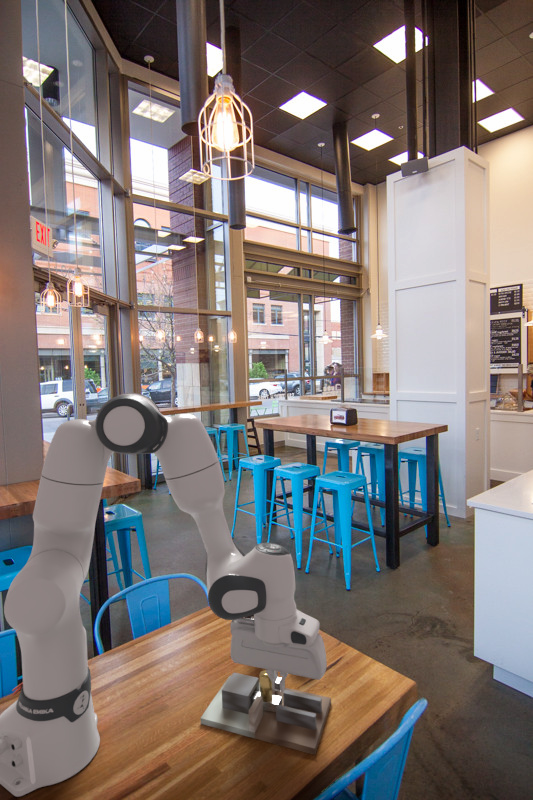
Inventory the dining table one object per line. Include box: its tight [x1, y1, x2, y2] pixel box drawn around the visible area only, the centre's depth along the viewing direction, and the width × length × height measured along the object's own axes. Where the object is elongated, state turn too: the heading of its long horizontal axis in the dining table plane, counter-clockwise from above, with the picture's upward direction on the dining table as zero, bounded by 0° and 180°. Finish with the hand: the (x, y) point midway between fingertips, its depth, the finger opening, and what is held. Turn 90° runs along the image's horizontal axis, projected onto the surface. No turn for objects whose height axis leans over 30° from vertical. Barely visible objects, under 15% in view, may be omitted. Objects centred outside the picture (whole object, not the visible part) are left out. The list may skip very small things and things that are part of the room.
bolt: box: [250, 669, 282, 713], centre depth 93 cm, size 12×3×7 cm, turn 70°
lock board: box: [199, 671, 332, 756], centre depth 92 cm, size 24×14×5 cm, turn 70°
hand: (278, 688), depth 91 cm, fingers closed
